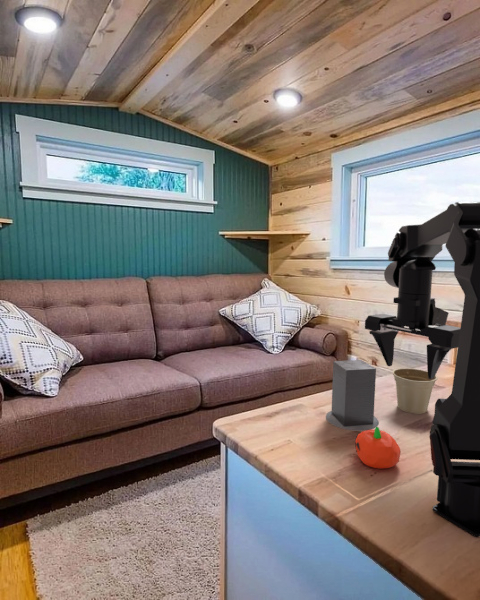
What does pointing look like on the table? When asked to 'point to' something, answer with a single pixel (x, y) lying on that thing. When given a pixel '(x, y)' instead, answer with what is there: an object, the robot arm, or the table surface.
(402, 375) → the flower pot
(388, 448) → the pumpkin
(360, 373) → the dark grey square block
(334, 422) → the slate coaster
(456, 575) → the table surface
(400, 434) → the table surface
